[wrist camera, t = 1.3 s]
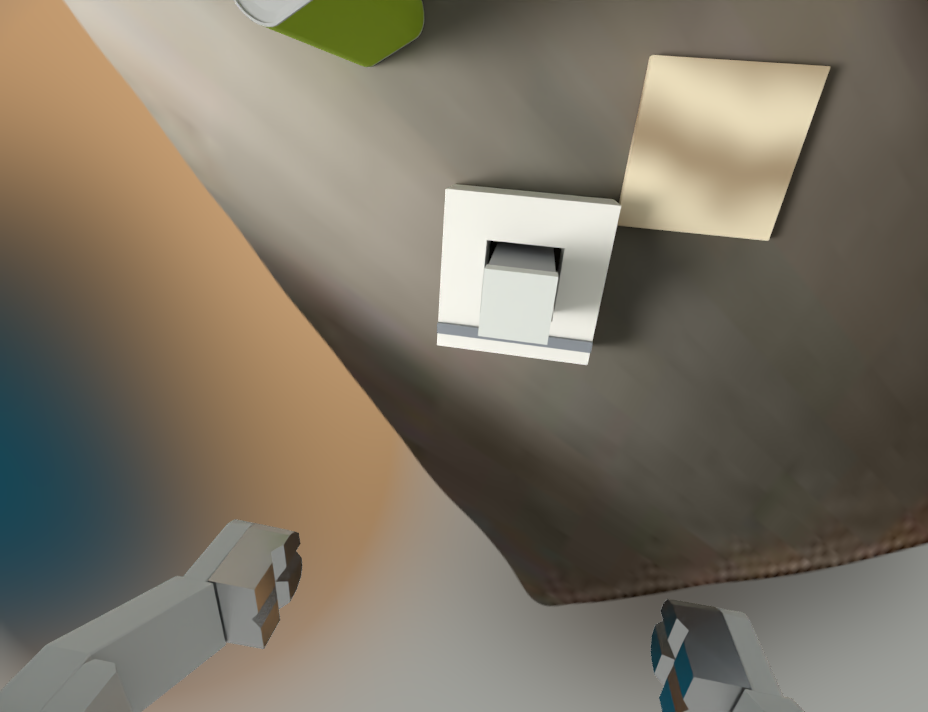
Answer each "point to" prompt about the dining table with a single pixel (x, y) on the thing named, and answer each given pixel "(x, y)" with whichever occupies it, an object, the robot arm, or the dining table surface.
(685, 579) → the dining table surface
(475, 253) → the white flat square piece
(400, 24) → the vape
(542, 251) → the plug
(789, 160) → the coaster
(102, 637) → the robot arm
